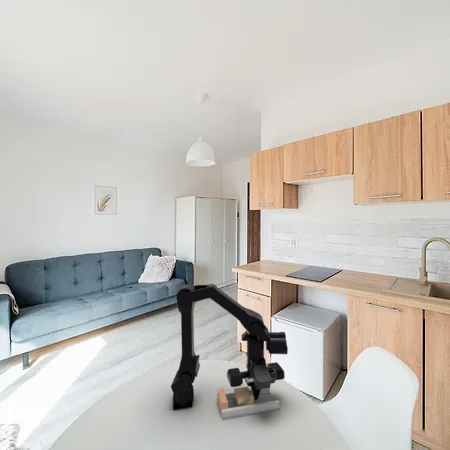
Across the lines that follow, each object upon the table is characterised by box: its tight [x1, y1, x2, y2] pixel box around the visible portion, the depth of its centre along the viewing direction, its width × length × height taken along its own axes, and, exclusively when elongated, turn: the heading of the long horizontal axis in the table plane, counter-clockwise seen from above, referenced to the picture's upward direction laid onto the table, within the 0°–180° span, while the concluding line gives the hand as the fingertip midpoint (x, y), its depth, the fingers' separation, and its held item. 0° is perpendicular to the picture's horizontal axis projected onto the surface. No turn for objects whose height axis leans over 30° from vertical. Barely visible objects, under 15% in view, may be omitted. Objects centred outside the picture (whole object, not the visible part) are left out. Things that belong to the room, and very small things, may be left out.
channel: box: [216, 387, 281, 421], centre depth 80 cm, size 19×10×5 cm, turn 103°
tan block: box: [233, 385, 253, 407], centre depth 80 cm, size 5×5×4 cm
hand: (255, 399), depth 81 cm, fingers closed
